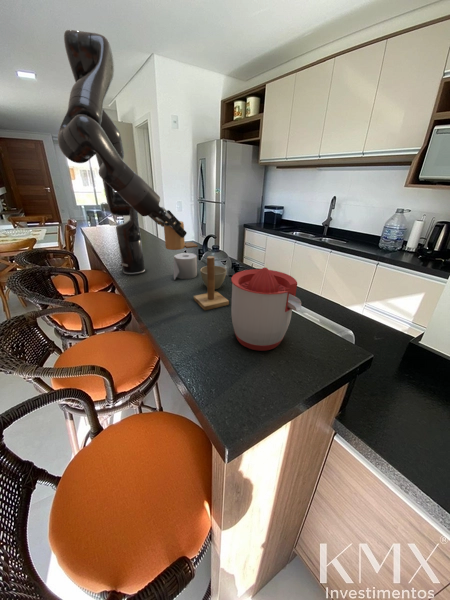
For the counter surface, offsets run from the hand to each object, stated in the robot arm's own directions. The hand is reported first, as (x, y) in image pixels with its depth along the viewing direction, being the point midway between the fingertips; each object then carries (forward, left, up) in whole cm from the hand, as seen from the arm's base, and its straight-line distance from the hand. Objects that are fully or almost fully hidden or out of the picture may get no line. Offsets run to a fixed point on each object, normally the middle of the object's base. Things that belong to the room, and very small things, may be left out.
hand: (179, 233), depth 80 cm
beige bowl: (-2, +14, -22) cm, 26 cm away
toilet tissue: (-19, +8, -22) cm, 30 cm away
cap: (0, 0, -4) cm, 4 cm away
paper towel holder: (+9, +7, -22) cm, 25 cm away
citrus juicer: (+35, +9, -22) cm, 43 cm away
